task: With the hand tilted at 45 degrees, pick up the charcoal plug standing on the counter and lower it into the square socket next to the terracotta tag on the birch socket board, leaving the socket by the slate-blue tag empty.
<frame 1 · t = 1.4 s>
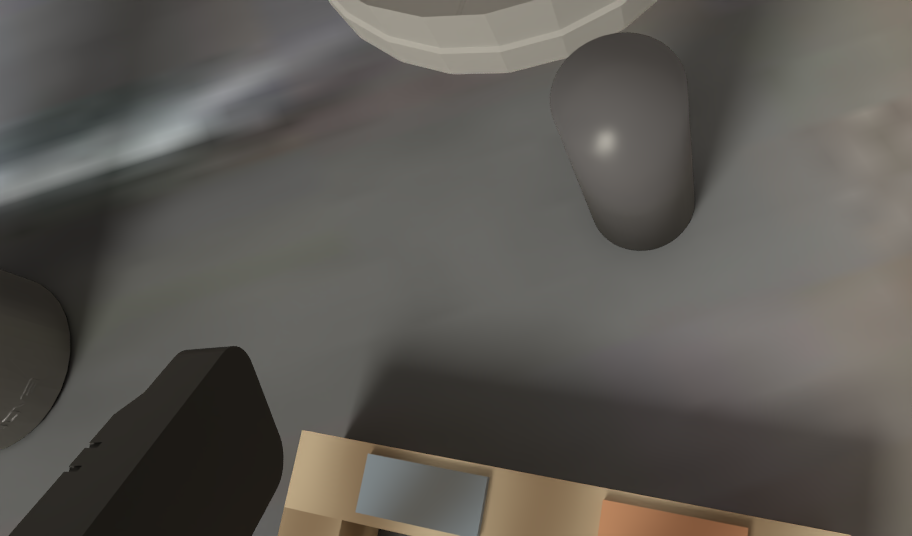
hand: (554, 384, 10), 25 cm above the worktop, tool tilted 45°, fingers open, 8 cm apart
plug: (641, 202, 36), on the worktop
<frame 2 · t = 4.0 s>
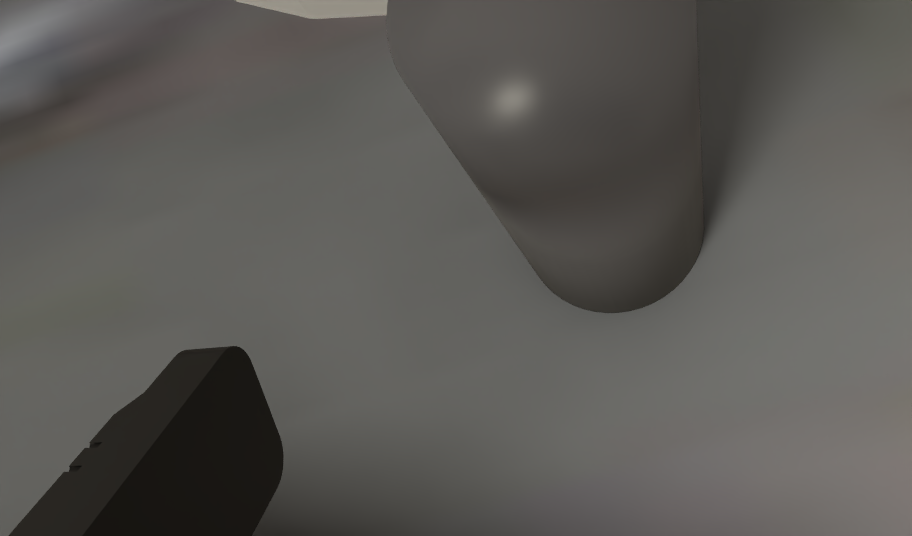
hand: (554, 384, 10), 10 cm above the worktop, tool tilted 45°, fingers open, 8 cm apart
plug: (612, 227, 21), on the worktop
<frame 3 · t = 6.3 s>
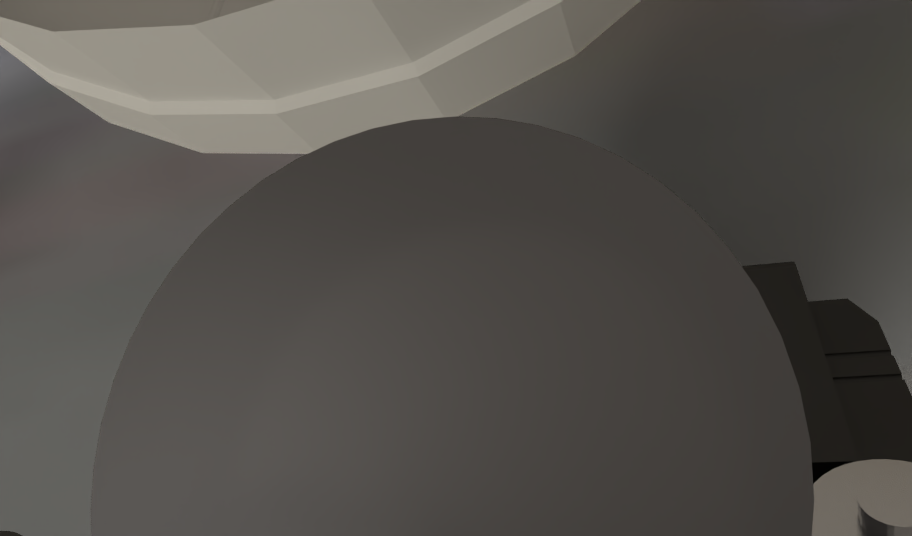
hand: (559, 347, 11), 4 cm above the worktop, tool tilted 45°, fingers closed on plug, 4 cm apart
plug: (608, 507, 14), on the worktop, touching gripper
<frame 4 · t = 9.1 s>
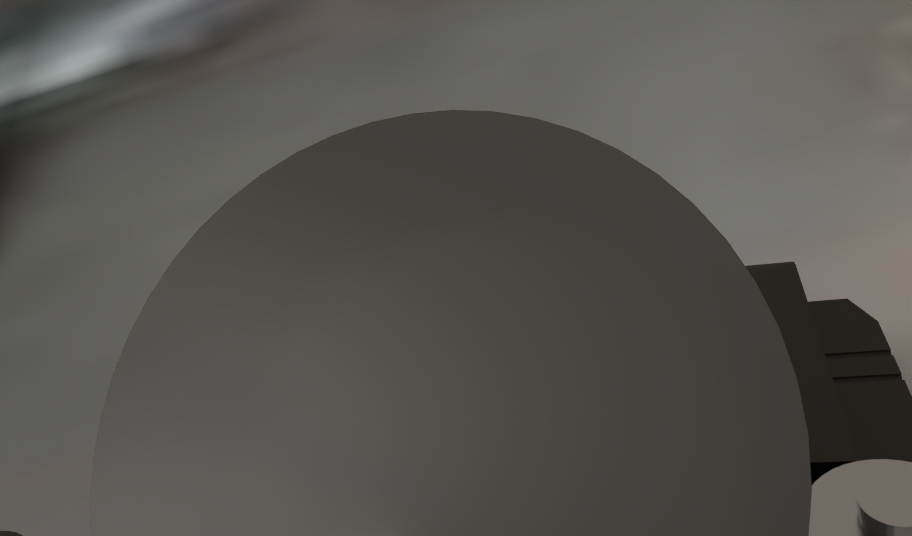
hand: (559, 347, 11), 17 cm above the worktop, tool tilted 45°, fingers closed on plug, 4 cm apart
plug: (609, 504, 14), point 13 cm above the worktop, touching gripper
when the fingers open (8 cm above the worktop, at t = 12.2 s): plug drops 3 cm, resting in socket board.
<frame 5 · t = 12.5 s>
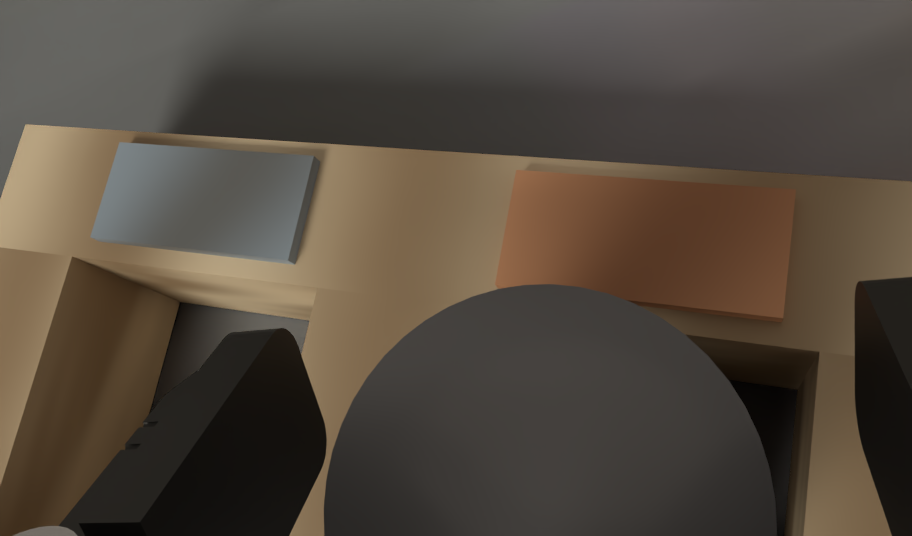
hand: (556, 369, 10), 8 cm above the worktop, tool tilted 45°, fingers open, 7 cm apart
socket board: (433, 426, 19), on the worktop
plug: (631, 515, 17), resting in socket board
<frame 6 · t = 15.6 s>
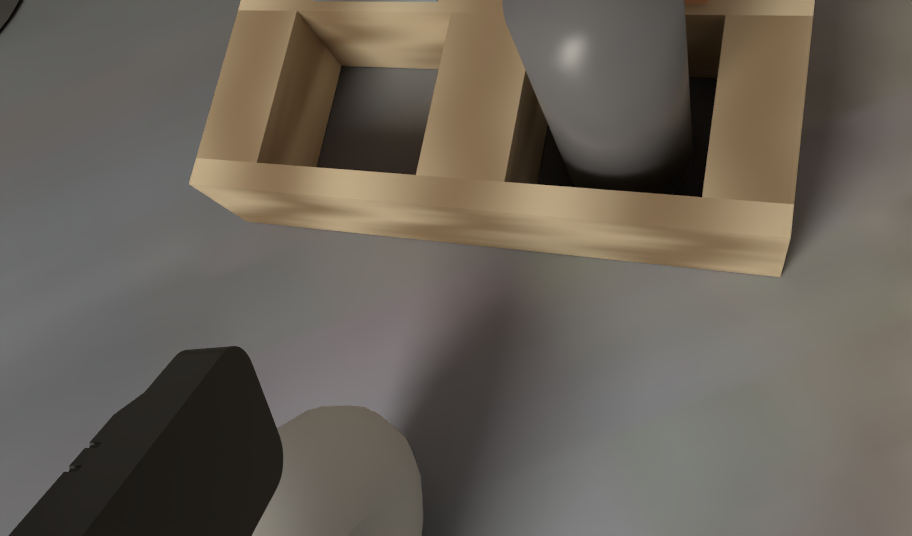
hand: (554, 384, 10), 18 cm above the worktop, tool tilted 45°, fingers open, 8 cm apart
socket board: (509, 119, 31), on the worktop
plug: (628, 154, 30), resting in socket board
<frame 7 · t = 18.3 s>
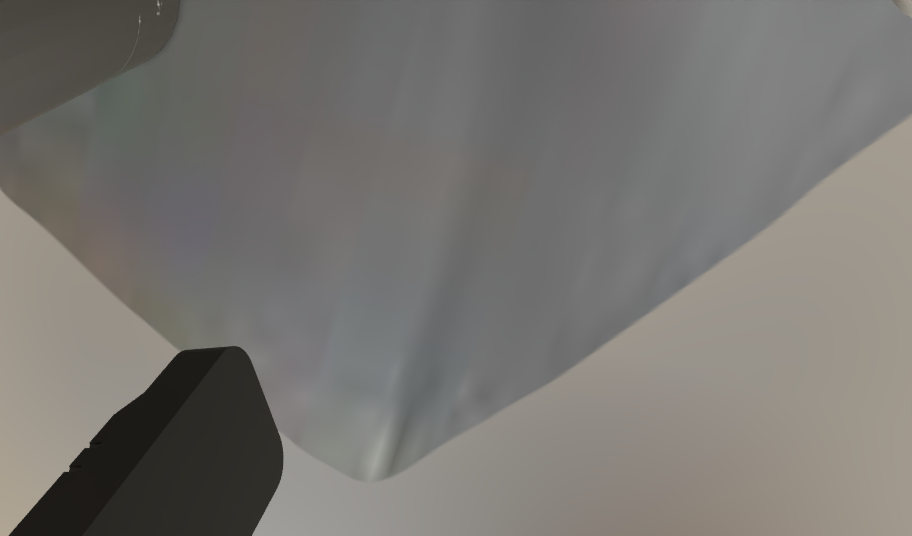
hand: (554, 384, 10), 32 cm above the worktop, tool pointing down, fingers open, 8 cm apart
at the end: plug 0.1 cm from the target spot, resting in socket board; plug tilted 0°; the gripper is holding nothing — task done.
